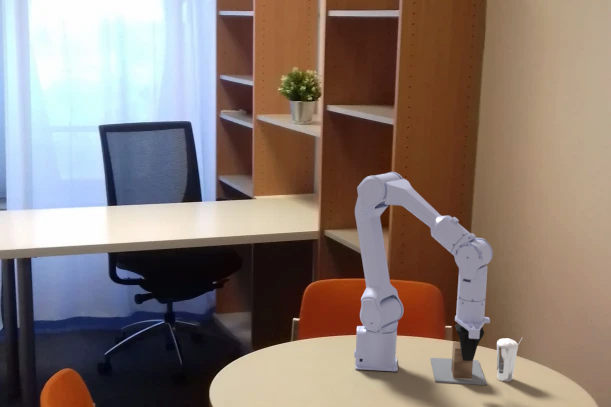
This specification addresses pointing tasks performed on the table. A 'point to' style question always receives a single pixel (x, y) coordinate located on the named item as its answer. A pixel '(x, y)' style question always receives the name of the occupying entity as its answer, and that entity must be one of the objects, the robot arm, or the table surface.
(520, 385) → the table surface
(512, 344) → the milkshake
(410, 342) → the table surface
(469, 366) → the walnut block
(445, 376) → the mat
